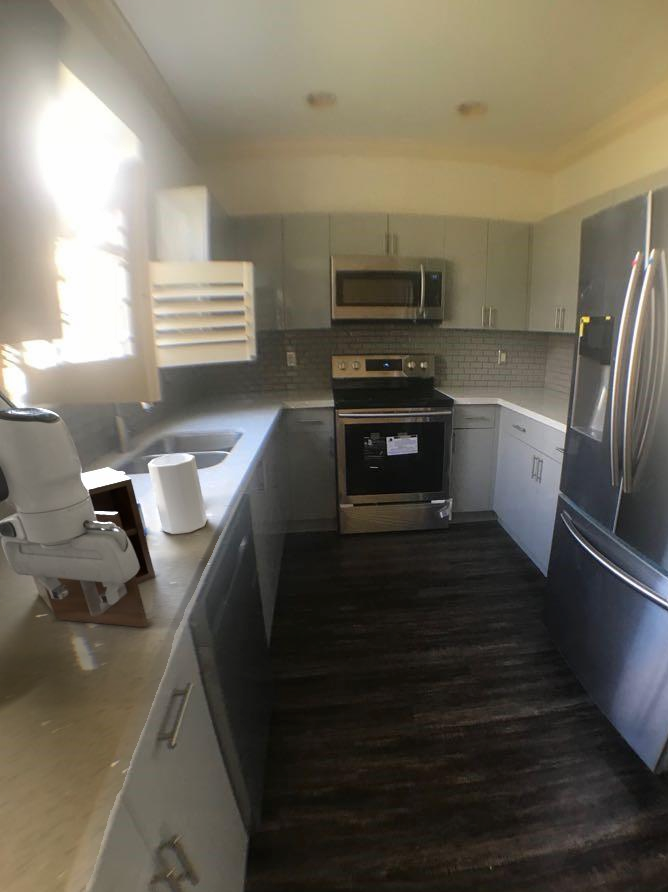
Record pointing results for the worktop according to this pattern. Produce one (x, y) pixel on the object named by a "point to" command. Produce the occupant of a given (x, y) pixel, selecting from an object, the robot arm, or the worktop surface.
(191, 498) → the cup
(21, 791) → the worktop surface
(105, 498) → the cupboard
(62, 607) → the cupboard door
